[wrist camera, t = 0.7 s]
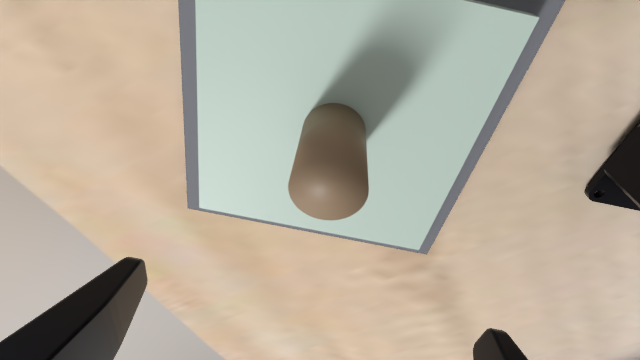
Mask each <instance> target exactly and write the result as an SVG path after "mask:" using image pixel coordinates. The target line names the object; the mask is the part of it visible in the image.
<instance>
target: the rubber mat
mask: <svg viewBox="0 0 640 360" xmlns="http://www.w3.org/2000/svg"><path fill="white" fill-rule="evenodd" d="M476 1H480V2H484V3H489V4H493V5H497V6H502V7H506V8H511V9H515V10H519V11H524V12H528V13H532V14H534V15H536V16H537V17H539V20H538V22H537V24H536V25H535V27H534V29H533V31H532V33H531V35H530V37H529V39H528V41H527V43H526V45H525V47H524V49H523V51H522V52H521V54H520V56H519V58H518V60H517V62H516V64H515V66H514V68H513V70H512V72H511V74H510V76H509V77H508V79H507V81H506V83H505V85H504V87H503V89H502V91H501V93H500V95H499V97H498V99H497V101H496V102H495V104H494V106H493V108H492V110H491V112H490V114H489V116H488V118H487V120H486V122H485V124H484V126H483V128H482V129H481V131H480V133H479V135H478V137H477V139H476V141H475V143H474V145H473V147H472V149H471V151H470V153H469V154H468V156H467V158H466V160H465V162H464V164H463V166H462V168H461V170H460V172H459V174H458V176H457V178H456V179H455V181H454V183H453V185H452V187H451V189H450V191H449V193H448V195H447V197H446V199H445V201H444V203H443V205H442V206H441V208H440V210H439V212H438V214H437V216H436V218H435V220H434V222H433V224H432V226H431V228H430V230H429V231H428V233H427V235H426V237H425V239H424V241H423V243H422V245H421V247H420V249H419V250H415V249H410V248H405V247H400V246H394V245H389V244H384V243H379V242H374V241H368V240H363V239H358V238H353V237H348V236H343V235H337V234H332V233H327V232H322V231H317V230H312V229H306V228H301V227H296V226H291V225H286V224H280V223H275V222H270V221H265V220H260V219H255V218H249V217H244V216H239V215H234V214H229V213H224V212H218V211H213V210H208V209H203V208H199V166H198V114H197V62H196V10H195V0H178V2H179V25H180V47H181V69H182V91H183V114H184V136H185V158H186V180H187V202H188V208H189V209H194V210H199V211H204V212H210V213H215V214H220V215H225V216H230V217H235V218H241V219H246V220H251V221H256V222H261V223H267V224H272V225H277V226H282V227H287V228H292V229H298V230H303V231H308V232H313V233H318V234H324V235H329V236H334V237H339V238H344V239H350V240H355V241H360V242H365V243H370V244H375V245H381V246H386V247H391V248H396V249H401V250H407V251H412V252H417V253H422V254H427V253H428V251H429V249H430V248H431V246H432V244H433V242H434V240H435V238H436V237H437V235H438V233H439V231H440V229H441V227H442V226H443V224H444V222H445V220H446V218H447V216H448V215H449V213H450V211H451V209H452V207H453V205H454V204H455V202H456V200H457V198H458V196H459V194H460V193H461V191H462V189H463V187H464V185H465V183H466V182H467V180H468V178H469V176H470V174H471V172H472V171H473V169H474V167H475V165H476V163H477V161H478V160H479V158H480V156H481V154H482V152H483V150H484V149H485V147H486V145H487V143H488V141H489V139H490V138H491V136H492V134H493V132H494V130H495V128H496V126H497V125H498V123H499V121H500V119H501V117H502V115H503V114H504V112H505V110H506V108H507V106H508V104H509V103H510V101H511V99H512V97H513V95H514V93H515V92H516V90H517V88H518V86H519V84H520V82H521V81H522V79H523V77H524V75H525V73H526V71H527V70H528V68H529V66H530V64H531V62H532V60H533V59H534V57H535V55H536V53H537V51H538V49H539V48H540V46H541V44H542V42H543V40H544V38H545V37H546V35H547V33H548V31H549V29H550V27H551V26H552V24H553V22H554V20H555V18H556V16H557V15H558V13H559V11H560V9H561V7H562V5H563V4H564V2H565V0H476Z"/></svg>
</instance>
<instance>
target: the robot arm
mask: <svg viewBox="0 0 640 360" xmlns="http://www.w3.org/2000/svg"><path fill="white" fill-rule="evenodd" d="M596 191H598V192H596ZM595 192H596V193H595ZM585 194H586V196H587V197H588V198H589V199H590V200H592V201H595V202H600V203H605V204H609V205H614V206H619V207H624V208H629V209H634V210H639V211H640V121H639V123H638V124H637V125H636V126H635V128H634V129H633V130H632V131H631V133H630V134H629V135H628V136H627V137H626V139H625V140H624V141H623V142H622V144H621V145H620V146H619V147H618V149H617V150H616V151H615V152H614V154H613V155H612V156H611V157H610V159H609V160H608V161H607V162H606V163H605V165H604V166H603V167H602V168H601V170H600V171H599V172H598V173H597V175H596V176H595V177H594V178H593V180H592V181H591V182H590V183H589V185H588V186H587V187H586V189H585ZM146 285H147V274H146V268H145V263H144V261H143V260H142V259H138V258H133V257H126V258H124V259H122V260H121V261H119V262H118V263H116V264H115V265H113V266H112V267H110V268H109V269H107V270H106V271H104V272H103V273H102V274H100V275H98V276H97V277H95V278H94V279H93V280H91V281H90V282H88V283H87V284H85V285H84V286H82V287H81V288H79V289H78V290H76V291H75V292H73V293H72V294H70V295H69V296H67V297H66V298H64V299H63V300H62V301H60V302H59V303H57V304H56V305H54V306H53V307H51V308H50V309H48V310H47V311H45V312H44V313H42V314H41V315H40V316H38V317H36V318H35V319H33V320H32V321H30V322H29V323H28V324H26V325H25V326H23V327H22V328H20V329H19V330H17V331H16V332H14V333H13V334H11V335H10V336H8V337H7V338H5V339H4V340H2V341H1V342H0V360H113V359H114V357H115V355H116V354H117V352H118V350H119V348H120V346H121V344H122V342H123V339H124V337H125V335H126V332H127V330H128V328H129V326H130V323H131V321H132V319H133V316H134V314H135V312H136V309H137V307H138V305H139V302H140V300H141V298H142V295H143V293H144V291H145V288H146ZM473 358H474V360H528V359H527V358H526V356H525V355H524V354H523V353H522V351H521V350H520V349H519V348H518V346H517V345H516V344H515V343H514V341H513V340H512V339H511V337H510V336H509V335H508V334H507V333H506V332H504V331H502V330H497V329H492V328H489V329H487V330H486V331H485V332H484V333H483V334H482V336H481V337H480V338H479V339H478V340H477V341H476V343H475V345H474V348H473Z"/></svg>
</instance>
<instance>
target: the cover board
mask: <svg viewBox="0 0 640 360" xmlns="http://www.w3.org/2000/svg"><path fill="white" fill-rule="evenodd" d="M195 10H196V62H197V114H198V166H199V208H203V209H208V210H213V211H218V212H224V213H229V214H234V215H239V216H244V217H249V218H255V219H260V220H265V221H270V222H275V223H280V224H286V225H291V226H296V227H301V228H306V229H312V230H317V231H322V232H327V233H332V234H337V235H343V236H348V237H353V238H358V239H363V240H368V241H374V242H379V243H384V244H389V245H394V246H400V247H405V248H410V249H415V250H419V249H420V247H421V245H422V243H423V241H424V239H425V237H426V235H427V233H428V231H429V230H430V228H431V226H432V224H433V222H434V220H435V218H436V216H437V214H438V212H439V210H440V208H441V206H442V205H443V203H444V201H445V199H446V197H447V195H448V193H449V191H450V189H451V187H452V185H453V183H454V181H455V179H456V178H457V176H458V174H459V172H460V170H461V168H462V166H463V164H464V162H465V160H466V158H467V156H468V154H469V153H470V151H471V149H472V147H473V145H474V143H475V141H476V139H477V137H478V135H479V133H480V131H481V129H482V128H483V126H484V124H485V122H486V120H487V118H488V116H489V114H490V112H491V110H492V108H493V106H494V104H495V102H496V101H497V99H498V97H499V95H500V93H501V91H502V89H503V87H504V85H505V83H506V81H507V79H508V77H509V76H510V74H511V72H512V70H513V68H514V66H515V64H516V62H517V60H518V58H519V56H520V54H521V52H522V51H523V49H524V47H525V45H526V43H527V41H528V39H529V37H530V35H531V33H532V31H533V29H534V27H535V25H536V24H537V22H538V20H539V17H537V16H536V15H534V14H532V13H528V12H524V11H519V10H515V9H511V8H506V7H502V6H497V5H493V4H489V3H484V2H480V1H476V0H195Z"/></svg>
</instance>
